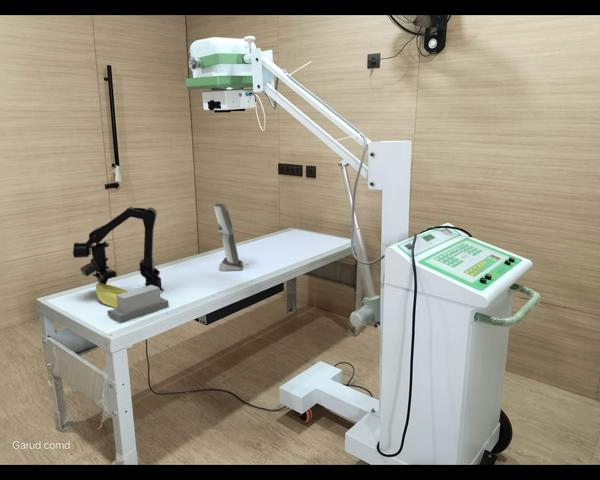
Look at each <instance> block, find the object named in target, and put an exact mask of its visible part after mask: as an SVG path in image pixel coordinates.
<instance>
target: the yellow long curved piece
mask: <svg viewBox="0 0 600 480" xmlns="http://www.w3.org/2000/svg"><path fill="white" fill-rule="evenodd" d="M95 291H96V292H95V293H96V296H97V298H98V300H99V301H100V302H101V303H102V304H104V305H107V306H109V307H111V308H114V309H116V308H118V305H117V297H116V295H118V294H121V293H125V292H128V291H129V290H126V289H123V288H120V287H117V286H114V285H111V284H107V283H106V284H102V283H99V282H98V283H96V284H95Z"/></svg>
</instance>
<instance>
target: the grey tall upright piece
mask: <svg viewBox="0 0 600 480" xmlns="http://www.w3.org/2000/svg"><path fill="white" fill-rule="evenodd" d="M213 207H214V208H213V209H214V212H215V216H216V219H217V223H218V228H217V232H218V233H220V237H221V242H222V245H223V250H224V253H225V257H224V259H223V260H222V261H221V263H220V264H219V267H218V270H219V271H220V272H233V271H242V270H243V269H244V268H243V267H244V264H243V261H242V260H240V257H239V253H238V248H237V244H236V240H235V239H236V238H235V234H234V227H233V225H232V221H231V217H230V214H229V210H228V206H227V204H225V203H215V204H214V206H213Z"/></svg>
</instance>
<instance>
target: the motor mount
mask: <svg viewBox="0 0 600 480" xmlns="http://www.w3.org/2000/svg"><path fill="white" fill-rule="evenodd" d="M127 291H128V292H125V293H121V294H118V295H116V297H117V305H118V308H114V309H109V310H107V312H106V313H107V316H108V317H109V318H110V319H111V320H113V321H115V322H118V323H120V324H123V323H126V322H129V321H132V320H134V319H137V318H141V317H143V316H147V315H149V314H152V313H155V311H156V312H158V310H159V311H162V310H165V309H168V308H170V306H169V300H168V299H165V298H163V297H161V295H162V293H163V291H160V288H158V287H156V286H153V285H149V286H146V287H145V286H143V287H142V286H141V287H140V288H136V289H132V290H127ZM167 307H168V308H167ZM164 308H165V309H164ZM161 309H162V310H161Z"/></svg>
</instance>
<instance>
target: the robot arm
mask: <svg viewBox="0 0 600 480" xmlns="http://www.w3.org/2000/svg"><path fill="white" fill-rule="evenodd" d="M157 217H158V212H157V209H155V208H154V207H147V208H144V207H133V206H129V207H127V208H126V209H125V210H124V211H122V212H121V213H119V214H118V215H117V216H115V217H114V218H113V219H111V220H110V221H108V222H107V223H105V224H103V225H101V226H98V227H96V228H94V229H93V230H92V231H90V233H88V240H86V242H74V243H73V251H72V254H73V257H74V258H75V259H76V258H77V259H78V258H80V259H81V258H89V257H90V255H91V257H92V258H90V262H89V263H87V264H85V265H83V266H82V267H80V268H79V270H80V272H81V274H82V275H83V276H85V277H88V276H91V275H92V276H93V277H95V278H96V280H97V281H98V283H102V284H107V282H108V280H109V279H112V278H116V277H117V272H116V271H115V270H114V269H111V268H110V267H109V266H108V262H107V261H109V258H108V257H107V254H106V253H107V252H106V248H108V247H109V246H111V245H110V242H109V243H108V242H107V241H106V240H104V239H105V238H106V237H107V236H108V234H109V233H111V231H114V230H115V228H118V226H120V225H121V224H122V223H124V222H126V221H127V220H129V218H135V219H138V220H142V224H143V227H144V242H143V243H144V244H143V245H144V246H143V259H142V258H141V260H140V261H139V262H138V263H139V270H138V272H140V276H141V277H143V278H144V279H145V282H144V285H145V286H144V287H146V286H149V285H153V286H156V287H158V288H160V291H162V292H163V291H164V288H162V277H160V274H161V271H160V270H159V269H157V268H156V266H155V260H154V256H153V255H154V253H153V252H154V232H155V231H154V229H155V225H156V224H155V223H156V221H157ZM103 240H104V241H103ZM102 241H103V242H102Z"/></svg>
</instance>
